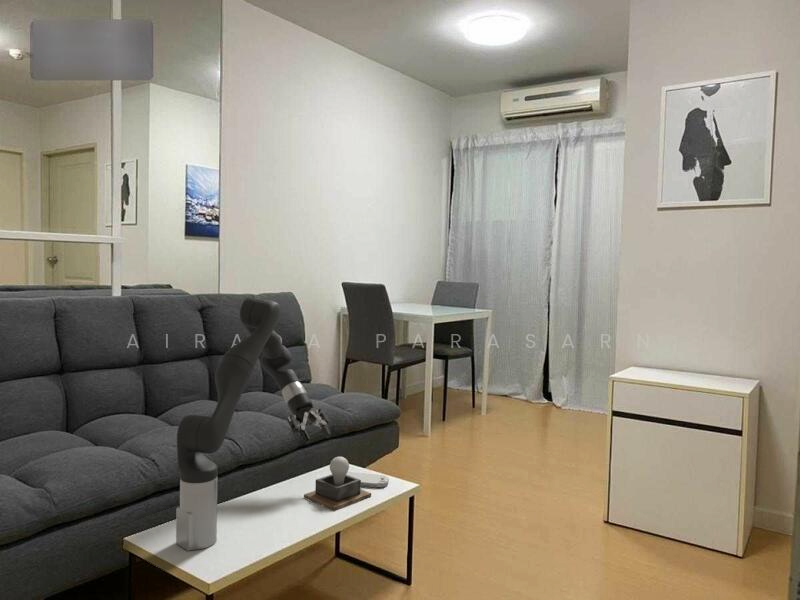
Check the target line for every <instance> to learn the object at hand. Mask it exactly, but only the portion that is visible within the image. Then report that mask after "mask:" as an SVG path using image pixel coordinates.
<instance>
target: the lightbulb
mask: <svg viewBox="0 0 800 600" xmlns="http://www.w3.org/2000/svg"><path fill="white" fill-rule="evenodd" d="M349 469H350V464H349V461H348V459H346V458H345V457H344V456H336V457H334V458H333V459H332V460H331V461H330V464H329V470H330V473H331V475H333V477H334V483H335V486H340V485H343V483H344V478H345V475H346V474H347V472H349Z"/></svg>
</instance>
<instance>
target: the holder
mask: <svg viewBox="0 0 800 600" xmlns="http://www.w3.org/2000/svg"><path fill="white" fill-rule="evenodd" d="M361 487H362V486H361V480H359V479H357V478H354V477H351V476H348V475H345V478H344V483H343V485H340V486H335V483H334V477H333V475H332V474H329V475H327V476H322V477H320V478H317V479H315V489H314V490H312V491H310V492H307V493H304V494H303V498H304V499H306V498H307V500H308V499H309V501H310V502H312V503H313V502H314V503H315V504H318V505H320V506H322V507H326V508H327V509H330V510H333V511H336V510H339V509H342V508H344V507H347V506H349V505H352V504H355V503H357V502H360V501H363V500H365V499H367V498H370V497H372V492H369V491H367V490H364V489H361Z"/></svg>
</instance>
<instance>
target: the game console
mask: <svg viewBox="0 0 800 600" xmlns="http://www.w3.org/2000/svg"><path fill="white" fill-rule="evenodd" d="M346 475H348V476H351V477H354V478H357V479H359V480H361V487H365V488H366V487H367V488H377V489H378V488H384V487H386V486H387V485H388V484H389V482H390V481H389V480H390V479H389V478H390V477H388V476H387V475H383V474H373V473H372V474H371V473H361V472H350V471H348V472H347V474H346Z"/></svg>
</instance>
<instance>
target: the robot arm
mask: <svg viewBox="0 0 800 600" xmlns="http://www.w3.org/2000/svg"><path fill="white" fill-rule="evenodd" d="M280 316H281V306H280V304H279V303H278V302H276V301H273V300H271V299H270V300H269V299H265V298H259V297H251V296H250V297H247V298H245V299H244V300H243V301H242V303H241V305H240V310H239V320H240V322H241V325H242V326H243V327H244V328H245V329H246V330H247V331H248V332H249V334H250V335H249V336H247V337H246V338H244V339H242V340H241V341H239V342H238V343H236V344H234V345H233V346H232V347H230V348H229V349H228V350H227V351H226V352H225V353H224V354H223V356H222V358H221V360H220V362H219V364H218V366H217V367H216V369H215V373H214V382H215V388H216V392H217V404H216V406H215V409H214V411H213V413H212V414H211V416H206V415H199V414H198V415H197V414H188V415H185V416H184V417H183V418H182V419H181V421H180V422H179V425H178V428H177V433H176V450H177V451H176V452H177V453H176V454H177V468H178V472H179V478H180V479H179V480H180V481H179V506H178V507H176V512H175V514H176V515H175V516H176V519H175V520H176V521H175V543H176V545H178V546H180V548H183V549H184V550H186V551H187V552H188V551H194V550H201V549H202V550H203V549H206V548H209V547H211V546H213V545H215V543H216V542H217V532H218V526H217V524H218V476H219V475H218V465H217V464H216V463H215V462H214V461H211V460H210V459H208V457H206V456H205V454H214V453H216V452H218V451H219V450H220V448H221V447H222V445H223V443H224V441H225V438H226V436H227V433H228V431H229V428H230V425H231V422H232V419H233V417H234V414H235V411H236V408H237V406H238V403H239V401H240V398H241V397H242V394H243V393H244V391H245V388H246V387H247V384H248V382H249V380H250V378H251V376H252V374H253V372H254V369H255V367H256V365H257V362H258V360H259V357H260V355H261V353H262V356H261V357H260V361H259V362H260V365H261V367H262V369H263V370H264V371H265V372H266V373H267V374H268V375H269V376H270V377H271V378H272V379H273V381H275V382H276V385H277V386H278V389H279V391H280V392H281V394H282V397H283V400H284V401H285V403H286V405H287V406H288V407H287V408H289V411H290V414H289V415H288V417H287V418H286V420H287V422H288V425H289V427H290V429H291V432H292V433H293V434H299V435H300V437H301V438H302V441H303V442H304V443H305V444H309V442H311V437H310V435H309V432H308V431H307V430H306V427H308V426H309V425H314V426H315V427H318V428H320V430H321V432H322V434H323V436H324V437H325V439H328V438H329V437H331V431H330V429H329V427H328V424H329V423H330V422H331V421H330V419H329V417H328V415H327V414H326V412H325V410H324V408H322V407H319V408H318V409H315V408H314V406H313V405H314V404H313V402H312V400H311V397H310V396H309V395H308V394H309V393H307V391H306V389H305V387H304V386H303V384H302V383H301V382H300V379H299V377H298V376H297V374H296V371H294V370H293V369H291V368H290V369H289V368H288V369H283V368H284V367H287V366H288V365H290V364H291V362H292V359H293V358H292V353H291V352H290V350H289V349H288V348H287V347H286V346H285V345H283V344H282V341H281V338H280V336H279V335H278V333H277V332H276V331H275V328H276V327H277V325H278V321H279V319H280ZM281 369H283V370H281Z"/></svg>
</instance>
